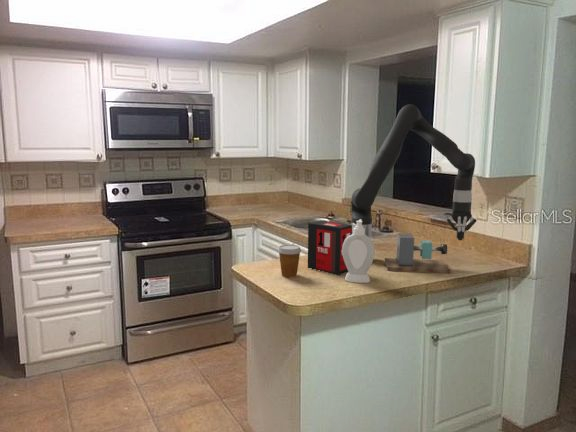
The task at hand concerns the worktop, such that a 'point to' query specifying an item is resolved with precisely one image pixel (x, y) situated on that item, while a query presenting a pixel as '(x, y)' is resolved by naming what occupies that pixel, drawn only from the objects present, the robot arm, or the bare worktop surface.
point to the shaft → (434, 248)
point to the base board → (418, 266)
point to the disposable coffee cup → (289, 259)
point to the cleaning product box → (327, 246)
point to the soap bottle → (358, 255)
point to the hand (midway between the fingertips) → (459, 239)
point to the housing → (405, 249)
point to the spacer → (426, 249)
